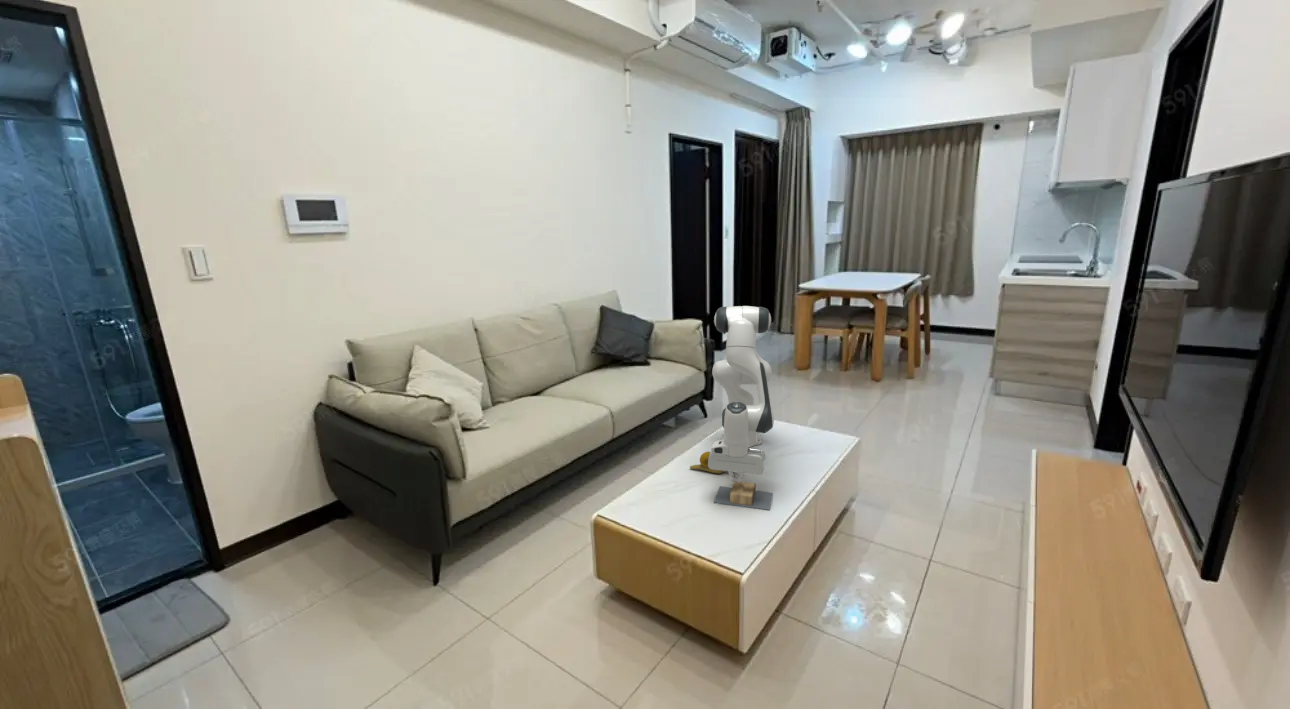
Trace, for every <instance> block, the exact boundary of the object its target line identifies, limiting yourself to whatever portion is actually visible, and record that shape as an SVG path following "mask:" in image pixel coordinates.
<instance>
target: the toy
mask: <svg viewBox="0 0 1290 709" xmlns="http://www.w3.org/2000/svg"><path fill="white" fill-rule="evenodd" d="M710 453H711V451H705V452H703V453H702V454H701V455H700V457H699V463H700V464H694V465H693V464H692V465H690V466H689V468H690V469H691V470H702V471H704V472H709V473H712V474H718V475H719V474H722V473H724V472H725V471H722V470H713V469H710V468H709V467H708V459H709V455H710Z"/></svg>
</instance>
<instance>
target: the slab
mask: <svg viewBox="0 0 1290 709" xmlns="http://www.w3.org/2000/svg"><path fill="white" fill-rule="evenodd" d="M756 489H757V483H755V482H748V481H740V483H737V482H733V483H732V490H731V493H730V503H737V504H744V505H753V501H754V497H755V492H756V491H757V490H756Z"/></svg>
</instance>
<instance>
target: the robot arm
mask: <svg viewBox="0 0 1290 709" xmlns="http://www.w3.org/2000/svg"><path fill="white" fill-rule="evenodd" d="M713 319H714V320H713V323H714V326H715V328H716V330H717V331H718V332H719V333H722V334H723V335H726V334H727V337H726V342H725V343H726V344H725V357H726V358H725V359H722V360H717V361H716V362H715V363H713V365H712V366H713V367H712V371H711V374H712V377H713V379H714V381H715V382H716V383H718V384H719V385H721V387H722V388H723V390H724V391H725V392H726V396H727V400H728V403H727V405H726V407H725V408H724V409H723V410H722V413H721V426H722V428H723V434H722V435H721V436H720V438H719V439H718V440H715V441H714V442H713V443H712V445H711V448H710V452H711V453H710V455H709V459H708V467H709V468H710V469H713V470H722V471H724V472H728V475H729V478H731V483H734V482H737V483H740V482H741V478H742V476H743V474H749V475H756V476H757V475H758V476H759V475H760V476H761V475H763V474H764V473H765V460H766V453H765V451H763V450H761V449H760V448H759V449H758V448H757V449H755V448H751V447H754V446H756V445H762V443H763V442H762V438H761V434H766V433H768V432H769V431H771V430H772V429H773V427H774V424H775V416H774V413H773V410H772V406H771V399H770V393H769V392H770V391H769V385H768V382H769V381H770V380H771V378H772V374H773V371H772V366H771V365H770V364H769V362H768V361H767V360H765V359H763V358H762V357H761V356H760V355H759V353H758V351H757V345H756V341H757V340H756V339H757V338H756V337H757V334H764V333H767V331H769V329H770V326H771V324H772V316H771V313H770V311H769V309H768V308H766V307H763V306H752V305H751V306H750V305H742V306H741V305H738V306H737V305H735V306H728V307H727V306H721V307H719V308H718V309H716V312H715V315H714V317H713ZM740 385H756V390H757V395H758V401H759V403H758V404H757V405H756V404H755V405H754V402H755V399H754V396H753V394H752V393H750V392H749V391H748V390H745V389H744V388H742V387H741V386H740ZM733 472H734V473H738V475H734V473H733Z"/></svg>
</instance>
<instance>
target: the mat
mask: <svg viewBox="0 0 1290 709" xmlns="http://www.w3.org/2000/svg"><path fill="white" fill-rule="evenodd" d="M732 487H733V486H732ZM732 487H731V486H730V487H729V486H723V485H719V487H718V490H717V491H716V495H715V498H714V501H713V504H717V503H718V504H719V505H726V506H734V507H739V508H740V507H741V508H747V509H754V510H755V509H757V510H762V511H771V507H772V506H771V505H772V501H773V495H774V492H773V491H772V492H770V491H764V490H756V492H755V497H754V501H753V505H744V504H737V503H730V493H731V490H732Z"/></svg>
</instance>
